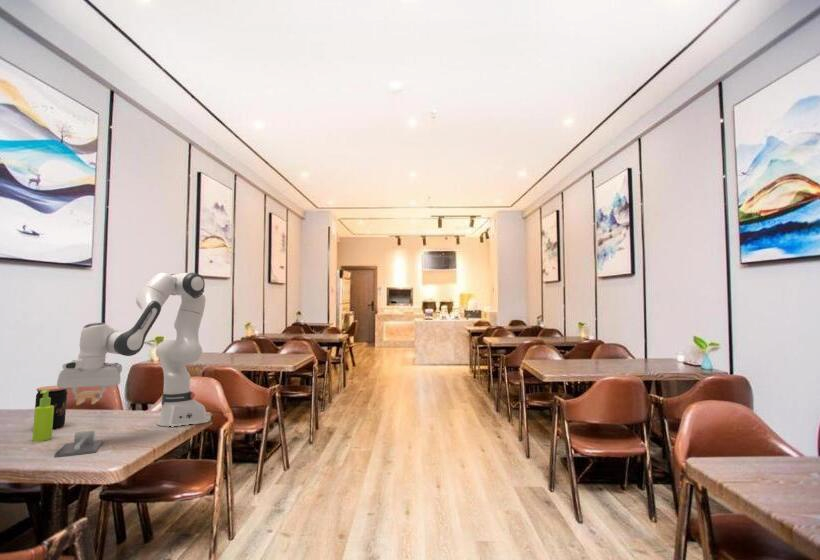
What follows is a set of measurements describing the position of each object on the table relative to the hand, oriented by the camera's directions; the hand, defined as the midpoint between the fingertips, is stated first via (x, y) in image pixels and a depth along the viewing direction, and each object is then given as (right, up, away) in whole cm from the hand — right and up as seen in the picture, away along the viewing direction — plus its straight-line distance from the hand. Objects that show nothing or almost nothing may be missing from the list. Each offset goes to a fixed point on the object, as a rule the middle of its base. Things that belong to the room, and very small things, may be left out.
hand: (88, 398), depth 167 cm
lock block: (0, -2, 0) cm, 2 cm away
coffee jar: (-34, -20, +21) cm, 44 cm away
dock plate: (+3, -17, -8) cm, 19 cm away
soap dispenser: (-22, -18, +3) cm, 28 cm away
